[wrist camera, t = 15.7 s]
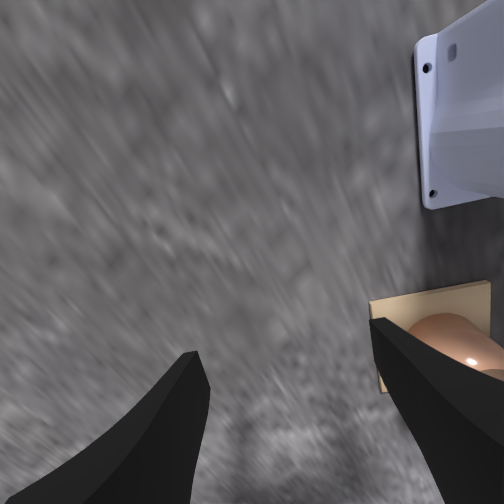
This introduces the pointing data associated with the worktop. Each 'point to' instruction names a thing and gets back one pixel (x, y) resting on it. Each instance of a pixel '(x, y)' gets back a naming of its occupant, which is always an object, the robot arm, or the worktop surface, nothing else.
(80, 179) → the worktop surface
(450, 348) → the mug
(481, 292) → the mat
